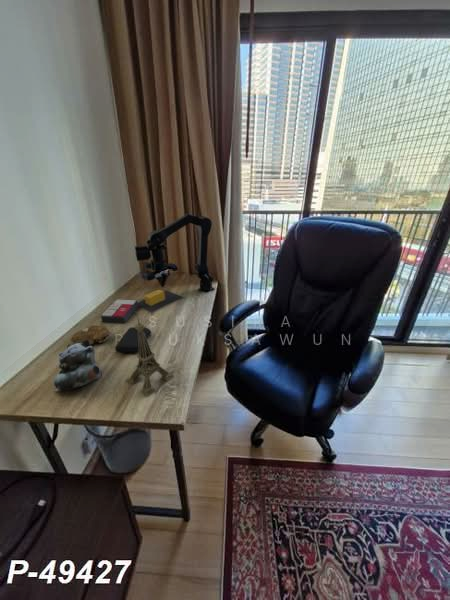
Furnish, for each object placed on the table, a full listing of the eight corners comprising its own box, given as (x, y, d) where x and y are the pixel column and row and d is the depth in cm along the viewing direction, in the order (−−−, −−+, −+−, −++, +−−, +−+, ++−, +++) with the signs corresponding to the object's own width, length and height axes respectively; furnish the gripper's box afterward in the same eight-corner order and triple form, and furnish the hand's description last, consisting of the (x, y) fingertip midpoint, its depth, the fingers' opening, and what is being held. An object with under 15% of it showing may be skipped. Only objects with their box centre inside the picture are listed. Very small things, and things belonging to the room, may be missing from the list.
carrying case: (141, 355, 93) (154, 332, 106) (140, 348, 91) (153, 326, 104) (114, 354, 93) (130, 331, 106) (112, 347, 92) (129, 325, 105)
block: (158, 289, 132) (144, 295, 126) (164, 291, 129) (149, 298, 123) (159, 296, 134) (145, 303, 128) (165, 299, 131) (151, 306, 125)
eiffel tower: (154, 362, 89) (141, 300, 77) (173, 376, 83) (163, 311, 71) (127, 380, 82) (109, 314, 70) (146, 396, 76) (130, 327, 64)
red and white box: (99, 315, 112) (116, 298, 125) (102, 323, 114) (118, 305, 127) (122, 316, 110) (137, 299, 123) (125, 324, 113) (139, 306, 125)
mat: (166, 291, 141) (166, 290, 141) (183, 297, 133) (183, 297, 133) (135, 304, 128) (135, 304, 127) (151, 313, 120) (151, 312, 120)
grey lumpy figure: (45, 394, 77) (36, 349, 77) (79, 380, 88) (72, 341, 88) (80, 391, 72) (72, 344, 72) (112, 377, 83) (104, 336, 83)
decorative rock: (118, 331, 107) (85, 331, 108) (116, 323, 105) (82, 323, 107) (104, 347, 97) (68, 347, 98) (102, 338, 95) (64, 338, 96)
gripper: (163, 250, 134) (166, 277, 142) (132, 259, 122) (138, 288, 129) (177, 254, 128) (180, 282, 135) (146, 264, 115) (151, 294, 123)
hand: (162, 286), depth 131 cm, fingers closed
